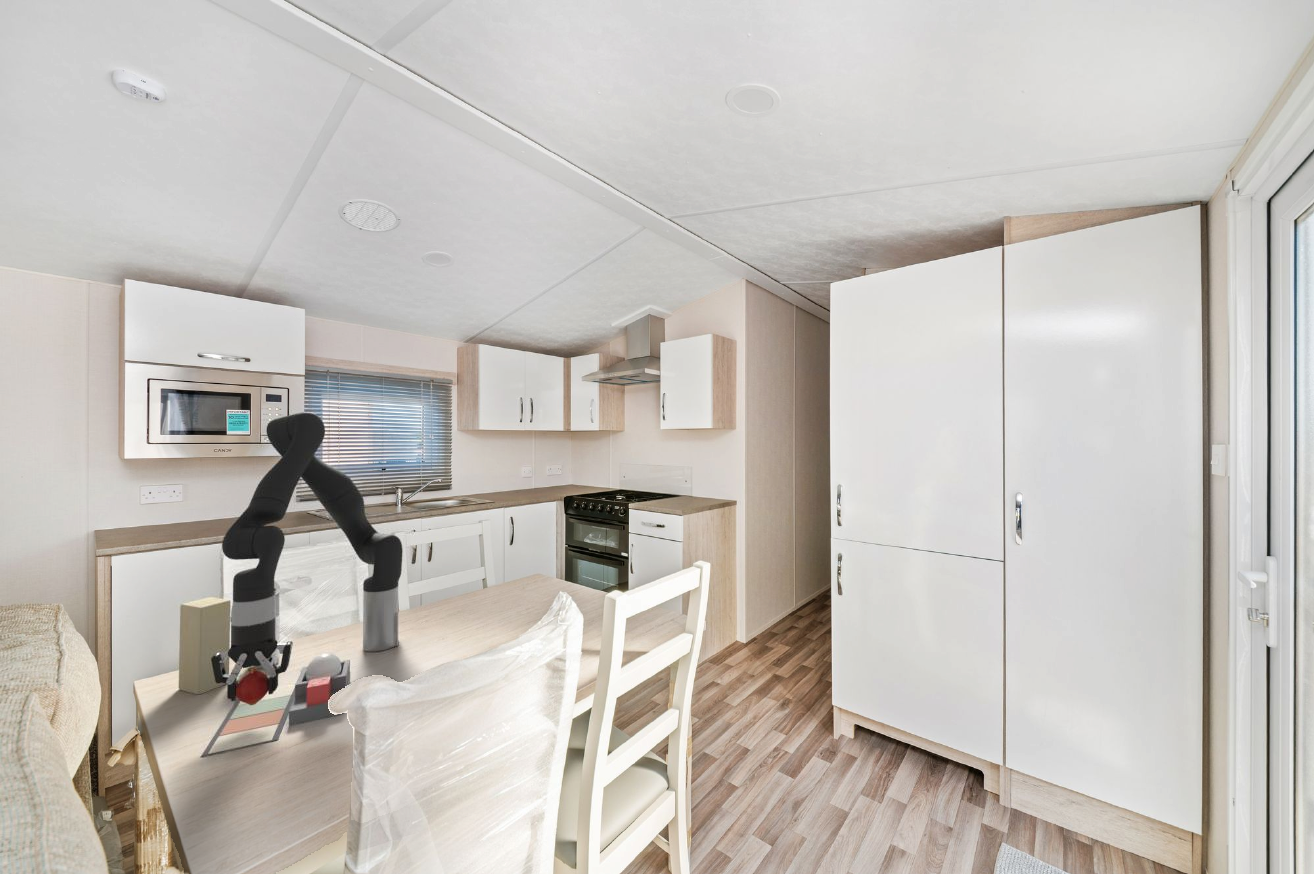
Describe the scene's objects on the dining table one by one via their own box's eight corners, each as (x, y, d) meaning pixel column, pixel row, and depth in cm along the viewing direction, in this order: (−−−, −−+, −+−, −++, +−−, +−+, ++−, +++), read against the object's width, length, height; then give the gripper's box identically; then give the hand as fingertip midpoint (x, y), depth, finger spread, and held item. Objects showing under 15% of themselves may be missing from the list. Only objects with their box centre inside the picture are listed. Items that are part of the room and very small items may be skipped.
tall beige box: (233, 681, 127) (233, 598, 128) (199, 695, 121) (199, 607, 121) (212, 676, 130) (213, 595, 130) (178, 689, 123) (178, 604, 123)
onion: (248, 698, 111) (249, 661, 111) (276, 697, 112) (276, 661, 112) (228, 712, 105) (228, 674, 106) (257, 710, 106) (258, 673, 106)
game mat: (301, 683, 126) (301, 682, 126) (277, 740, 102) (277, 738, 102) (240, 694, 121) (241, 692, 121) (200, 756, 97) (200, 755, 97)
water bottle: (285, 659, 140) (286, 570, 140) (264, 670, 133) (264, 576, 133) (263, 658, 141) (264, 569, 141) (241, 669, 134) (241, 576, 134)
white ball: (342, 674, 124) (342, 646, 125) (339, 686, 118) (339, 657, 118) (308, 680, 121) (308, 651, 121) (303, 693, 115) (303, 663, 115)
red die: (330, 693, 115) (330, 675, 115) (328, 701, 112) (328, 683, 112) (309, 697, 113) (309, 679, 114) (306, 705, 110) (306, 687, 110)
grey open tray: (350, 683, 126) (350, 659, 126) (343, 713, 112) (343, 686, 112) (302, 692, 122) (302, 667, 122) (288, 725, 108) (289, 697, 108)
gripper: (297, 608, 115) (296, 681, 115) (216, 617, 109) (216, 695, 109) (290, 618, 109) (290, 696, 109) (204, 629, 102) (203, 712, 102)
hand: (253, 695), depth 109 cm, fingers closed on onion, 5 cm apart
